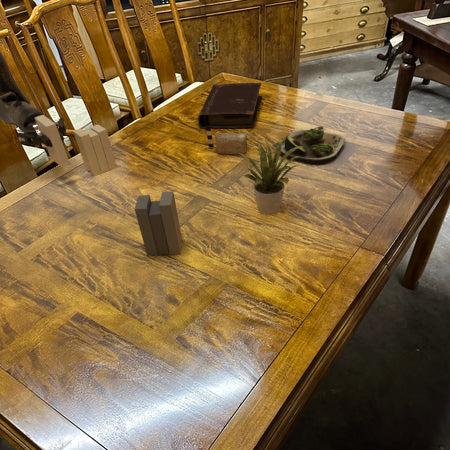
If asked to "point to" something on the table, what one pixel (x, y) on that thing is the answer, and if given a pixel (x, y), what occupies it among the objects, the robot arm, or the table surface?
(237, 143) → the cuneiform tablet
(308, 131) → the salad plate
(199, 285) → the table surface
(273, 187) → the house plant
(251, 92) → the diary
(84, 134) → the beige books
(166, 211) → the grey books
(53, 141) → the beige book
